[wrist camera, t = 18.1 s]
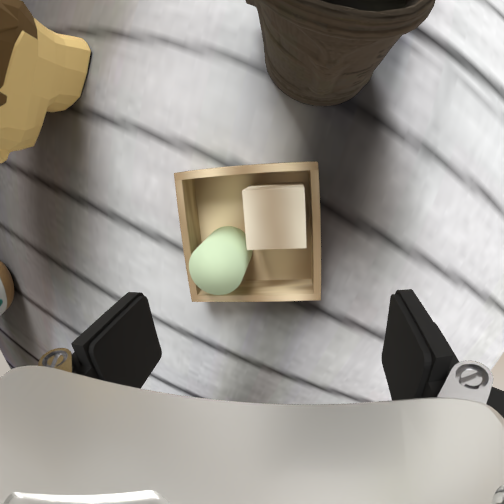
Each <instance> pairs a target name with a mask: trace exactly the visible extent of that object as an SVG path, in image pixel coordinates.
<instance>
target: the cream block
mask: <svg viewBox="0 0 504 504" xmlns="http://www.w3.org/2000/svg"><path fill="white" fill-rule="evenodd" d="M242 197H243V209H244V222H245V234H246V246H247V250H264V249H295V248H307V247H306V212H305V189H304V185H303V183H302V182H283V183H263V184H251V185H250V186H248V187H247V188H245V189H244V190H242Z"/></svg>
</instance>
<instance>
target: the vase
mask: <svg viewBox="0 0 504 504" xmlns="http://www.w3.org/2000/svg"><path fill="white" fill-rule="evenodd" d="M13 298H14V284H13V280H12V277H11V274H10V272H9V270H8V269H7V267H6V266H5V265H4V263H3V262H1V261H0V315H1V314H2V313H4V312H5V311H6V310H7V309H8V308H9V306H10V305H11V303H12V301H13Z"/></svg>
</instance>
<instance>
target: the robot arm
mask: <svg viewBox="0 0 504 504" xmlns="http://www.w3.org/2000/svg"><path fill="white" fill-rule="evenodd" d="M71 344H72V347H73V349H74V351H75V352H74V353H73V354H72V353H71V351H70V350H68V349H66V348H57V349H53V350H51V351H49V352H47V353H45V354H44V355H43V356H42V357H41V358H40V360H39V363H38V366H22V367H17V368H14V369H11V370H10V371H8V372H7V373H6V374H4V375H3V376H2V377H0V504H504V391H502V390H499V389H497V388H494V387H492V384H493V375H492V372H491V371H490V370H489V368H487V367H486V366H485V365H484V364H481V363H479V362H476V361H462V362H459V361H458V359H457V357H456V356H455V354H454V352H453V351H452V349H451V347H450V346H449V344H448V342H447V341H446V339H445V337H444V336H443V334H442V333H441V331H440V329H439V328H438V326H437V325H436V324H435V323H434V322H433V320H432V319H431V317H430V316H429V314H428V313H427V311H426V310H425V308H424V307H423V305H422V304H421V302H420V301H419V299H418V298H417V296H416V295H415V293H414V292H413V290H412V289H409V290H397V291H396V293H395V294H392V295H391V298H390V306H389V314H388V321H387V327H386V334H385V340H384V346H383V351H382V364H383V368H384V372H385V375H386V379H387V382H388V386H389V390H390V394H391V398H392V401H378V402H365V403H349V404H318V405H296V404H264V403H247V402H234V401H223V400H213V399H204V398H196V397H188V396H181V395H174V394H168V393H162V392H156V391H150V390H145V389H141V387H142V386H143V384H144V383H145V381H146V380H147V378H148V377H149V375H150V374H151V372H152V371H153V369H154V368H155V366H156V365H157V363H158V362H159V360H160V358H161V355H162V351H161V347H160V344H159V340H158V337H157V333H156V330H155V326H154V322H153V318H152V315H151V311H150V307H149V303H148V299H147V297H145V296H144V295H143V294H142V293H137V292H128V293H127V294H126V295H125V296H123V297H122V298H121V299H120V300H119V301H118V302H117V303H115V304H114V305H113V306H112V307H111V308H110V309H109V310H108V311H106V312H105V313H104V314H103V315H102V316H101V317H100V318H99V319H98V320H96V321H95V322H94V323H93V324H92V325H91V326H90V327H89V328H88V329H87V330H85V331H84V332H83V333H82V334H81V335H80V336H79V337H78V338H77V339H76V340H75V341H74V342H72V343H71Z"/></svg>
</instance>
